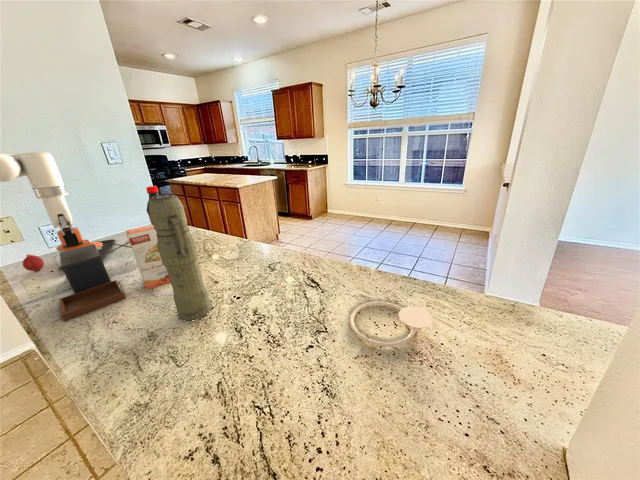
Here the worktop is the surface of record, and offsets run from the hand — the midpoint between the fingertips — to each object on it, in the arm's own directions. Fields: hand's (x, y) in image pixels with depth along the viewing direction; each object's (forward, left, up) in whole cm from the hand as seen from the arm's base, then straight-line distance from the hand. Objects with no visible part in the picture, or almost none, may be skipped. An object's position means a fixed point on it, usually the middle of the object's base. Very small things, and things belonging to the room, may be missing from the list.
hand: (72, 242), depth 93 cm
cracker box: (+20, -23, -16) cm, 35 cm away
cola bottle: (+29, +3, -16) cm, 34 cm away
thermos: (+20, -50, -16) cm, 56 cm away
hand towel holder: (+53, -95, -16) cm, 110 cm away
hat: (0, 0, -1) cm, 1 cm away
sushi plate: (+10, +26, -16) cm, 32 cm away
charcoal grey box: (0, -3, -16) cm, 16 cm away
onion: (-15, +28, -16) cm, 35 cm away
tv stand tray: (-1, -19, -16) cm, 25 cm away
